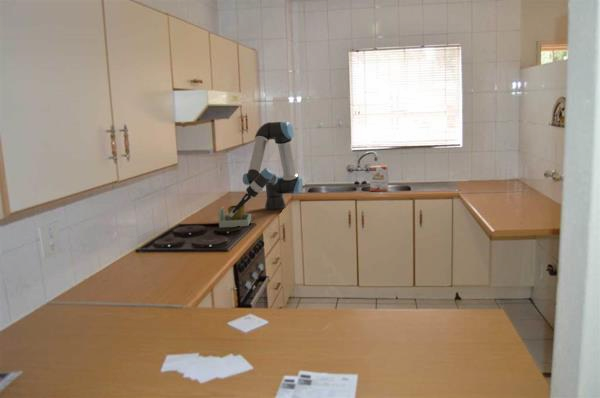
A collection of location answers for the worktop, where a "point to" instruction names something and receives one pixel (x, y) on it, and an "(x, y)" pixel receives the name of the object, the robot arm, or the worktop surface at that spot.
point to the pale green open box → (227, 222)
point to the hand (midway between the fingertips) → (231, 214)
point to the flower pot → (239, 213)
